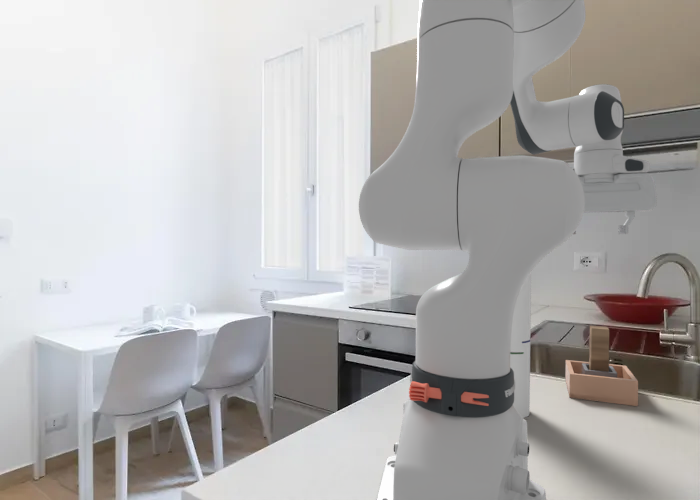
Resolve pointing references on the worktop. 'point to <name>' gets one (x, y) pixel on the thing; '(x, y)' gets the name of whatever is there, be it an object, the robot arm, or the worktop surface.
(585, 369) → the pink planter box
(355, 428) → the worktop surface
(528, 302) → the cylindrical container
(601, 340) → the tall wooden post
